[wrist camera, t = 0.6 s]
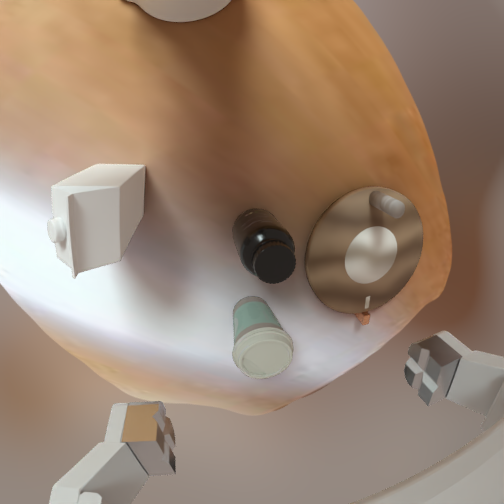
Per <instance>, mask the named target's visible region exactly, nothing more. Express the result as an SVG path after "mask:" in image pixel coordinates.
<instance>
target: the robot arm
mask: <svg viewBox="0 0 504 504" xmlns="http://www.w3.org/2000/svg"><path fill="white" fill-rule="evenodd" d="M127 1H130V2H134V3H136V4H137V5H139V6H140V7H141V8H142V9H143V10H144V11H145V12H146V13H148V14H150V15H151V16H153V17H155V18H158V19H161V20H165V21H171V22H189V21H195V20H199V19H203V18H206V17H208V16H211V15H213V14H215V13H217V12H218V11H220V10H221V9H223V8H224V7H225V6H226V5H227V4H228V3H229V2H230V1H231V0H127ZM408 355H409V356H410V358H409V359H408V361H407V362H406V364H405V369H404V372H405V378H406V380H407V382H408V384H409V385H410V386H411V387H412V388H415V389H418V395H419V397H420V398H421V399H422V400H423V401H424V402H425V403H426V405H427V406H430V405H432V404H434V403H436V402H438V401H440V400H442V399H444V398H446V399H448V400H450V401H452V402H455V403H457V404H459V405H461V406H464V407H466V408H469V409H471V410H473V411H476V412H478V413H480V414H483V415H485V416H486V417H485V419H484V421H483V423H482V424H481V429H482V430H483V431H484V432H483V433H482V434H480V435H479V436H478V437H477V438H475V439H473V440H472V441H470V442H469V443H468V444H466V445H465V446H463V447H462V448H460V449H459V450H457V451H456V452H454V453H452V454H451V455H449V456H447V457H446V458H444V459H443V460H441V461H439V462H437V463H436V464H434V465H432V466H430V467H429V468H427V469H425V470H423V471H421V472H420V473H418V474H416V475H414V476H412V477H410V478H408V479H406V480H404V481H402V482H400V483H398V484H396V485H394V486H391V487H389V488H387V489H385V490H382V491H380V492H378V493H375V494H373V495H371V496H368V497H366V498H363V499H361V500H358V501H355V502H353V503H350V504H504V357H502V356H498V355H493V354H488V353H484V352H480V351H473V352H472V351H471V350H470V349H469V348H468V347H466V346H465V345H463V344H462V343H461V342H460V341H459V340H458V339H456V338H455V337H453V335H451V334H450V333H449V332H447V331H441V332H439V333H437V334H434V335H433V336H430V337H427V338H425V339H422V340H420V341H417V342H415V343H412V344H411V346H410V347H409V350H408ZM165 415H166V409H165V407H164V404H163V402H161V401H155V402H134V403H115V404H114V405H113V406H112V409H111V413H110V418H109V422H108V427H107V431H106V435H105V440H104V442H100V443H99V444H97V445H96V446H95V447H94V448H93V449H92V450H91V451H90V452H89V453H88V454H87V455H86V456H85V457H84V458H83V459H82V460H80V461H79V462H78V463H77V464H76V465H75V466H74V467H73V468H72V469H71V470H70V471H69V472H68V473H67V474H65V475H64V476H63V477H62V478H61V479H60V480H59V481H58V482H57V483H56V484H55V485H54V486H53V489H52V493H51V497H50V502H49V504H131V503H132V502H133V500H134V499H135V497H136V496H137V494H138V493H139V491H140V490H141V489H142V487H143V486H144V484H145V483H146V481H147V480H148V478H149V476H154V475H171V474H176V470H175V469H176V468H175V467H176V466H175V456H174V454H173V452H172V449H173V448H174V447H175V435H174V429H173V426H172V423H171V421H170V419H169V418H168V417H166V416H165Z"/></svg>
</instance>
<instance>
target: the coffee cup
mask: <svg viewBox="0 0 504 504" xmlns="http://www.w3.org/2000/svg"><path fill="white" fill-rule="evenodd" d="M233 325H234V348H233V352H232V356H233V360H234V362H235V364H236V366H237V367H238V368H239V369H240V370H241V372H242V373H243V374H245V375H246V376H248V377H251V378H255V379H265V378H270V377H273V376H276V375H278V374H280V373H281V372H283V371H284V370H285V369H286V368H287V367H288V366H289V364H290V363H291V360H292V356H293V343H292V339H291V337H290V336H289V335H288V334H287V333H286V332H284V330H283V328H282V327H281V325H280V324H279V322H278V321H277V319H276V318H275V316H274V314H273V313H272V311H271V310H270V308H269V307H268V305H267V304H266V302H265V301H264V300H263V299H261V298H259V297H246V298H244V299H242V300H240V301H239V302H238V303H237V304H236V305H235V307H234V310H233Z"/></svg>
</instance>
